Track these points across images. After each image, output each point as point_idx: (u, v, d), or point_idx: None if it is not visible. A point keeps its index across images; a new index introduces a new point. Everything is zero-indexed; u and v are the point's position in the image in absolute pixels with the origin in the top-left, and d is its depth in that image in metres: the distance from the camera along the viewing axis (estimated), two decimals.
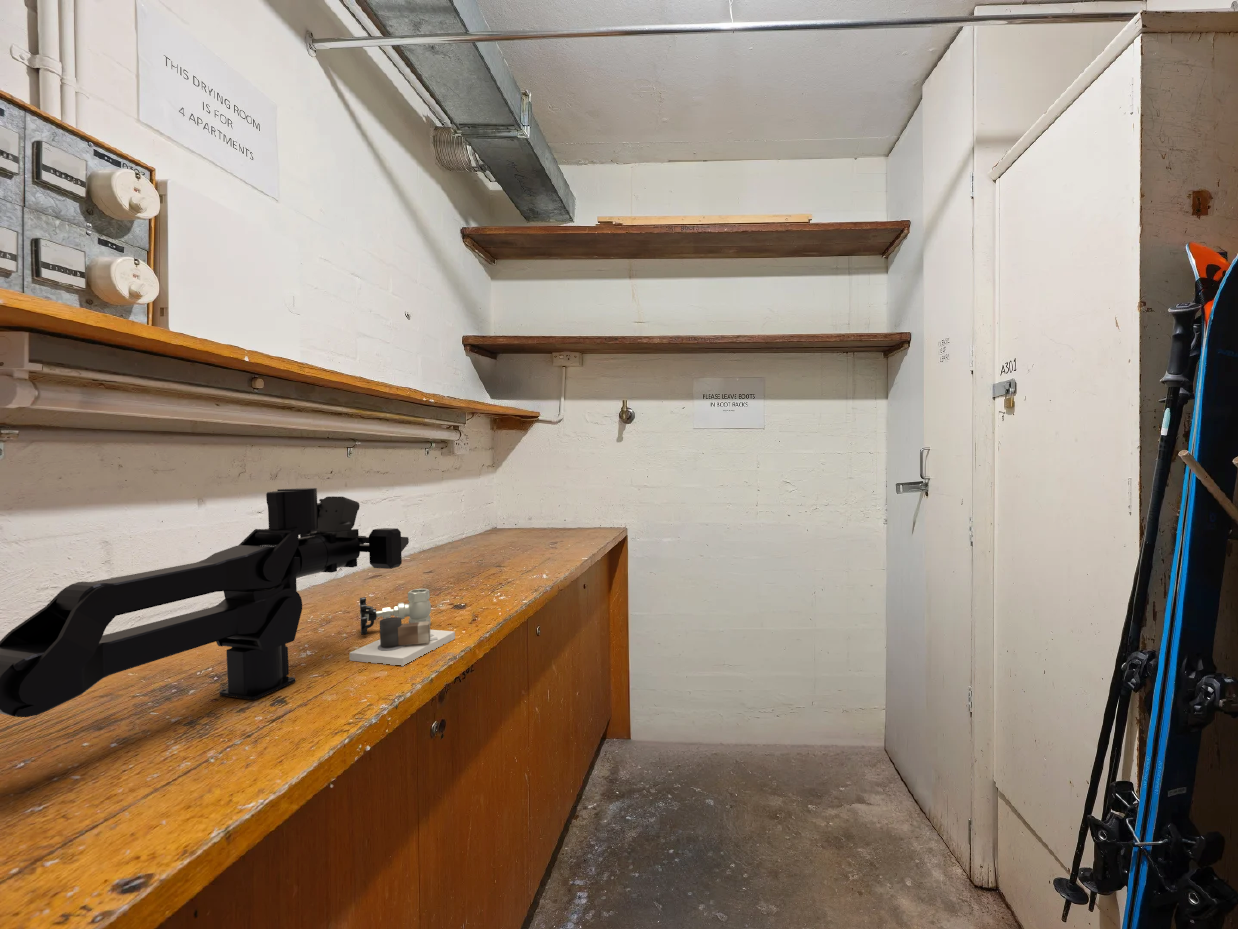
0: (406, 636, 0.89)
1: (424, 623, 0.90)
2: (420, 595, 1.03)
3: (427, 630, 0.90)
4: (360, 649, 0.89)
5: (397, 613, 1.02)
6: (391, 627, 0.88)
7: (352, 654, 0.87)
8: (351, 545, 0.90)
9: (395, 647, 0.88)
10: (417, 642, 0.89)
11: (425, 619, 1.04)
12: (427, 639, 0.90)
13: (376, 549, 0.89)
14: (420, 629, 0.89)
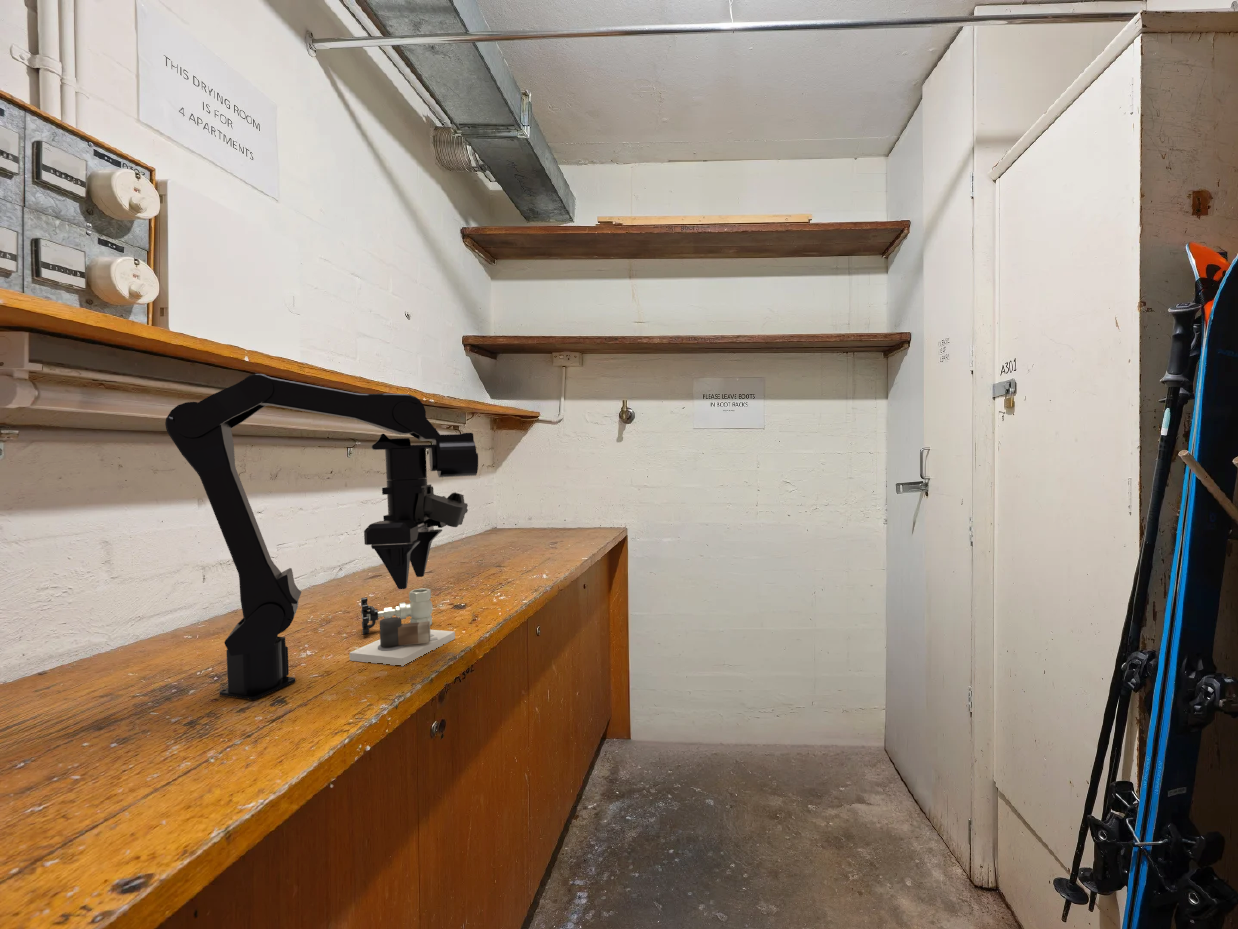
0: (406, 636, 0.89)
1: (424, 623, 0.90)
2: (421, 595, 1.03)
3: (427, 630, 0.90)
4: (360, 649, 0.89)
5: (399, 613, 1.02)
6: (391, 627, 0.88)
7: (352, 654, 0.87)
8: (406, 512, 0.82)
9: (395, 647, 0.88)
10: (417, 642, 0.89)
11: (427, 619, 1.04)
12: (427, 639, 0.90)
13: (392, 521, 0.78)
14: (420, 629, 0.89)
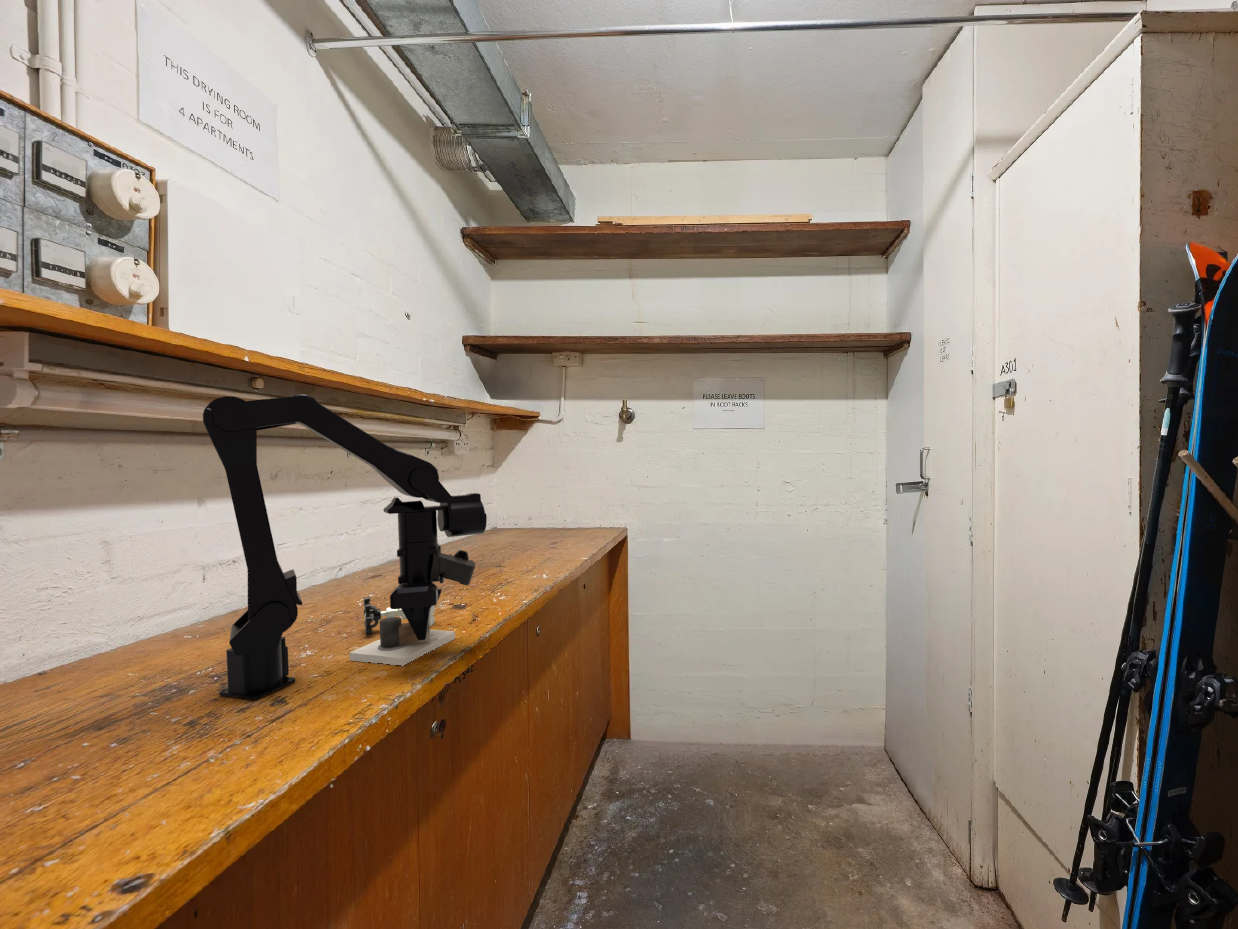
0: (407, 635, 0.89)
1: None
2: None
3: (428, 629, 0.90)
4: (360, 649, 0.89)
5: (401, 613, 1.02)
6: (392, 627, 0.88)
7: (352, 654, 0.87)
8: (422, 573, 0.86)
9: (395, 647, 0.88)
10: (418, 641, 0.90)
11: (429, 618, 1.04)
12: (428, 638, 0.90)
13: (415, 584, 0.82)
14: None
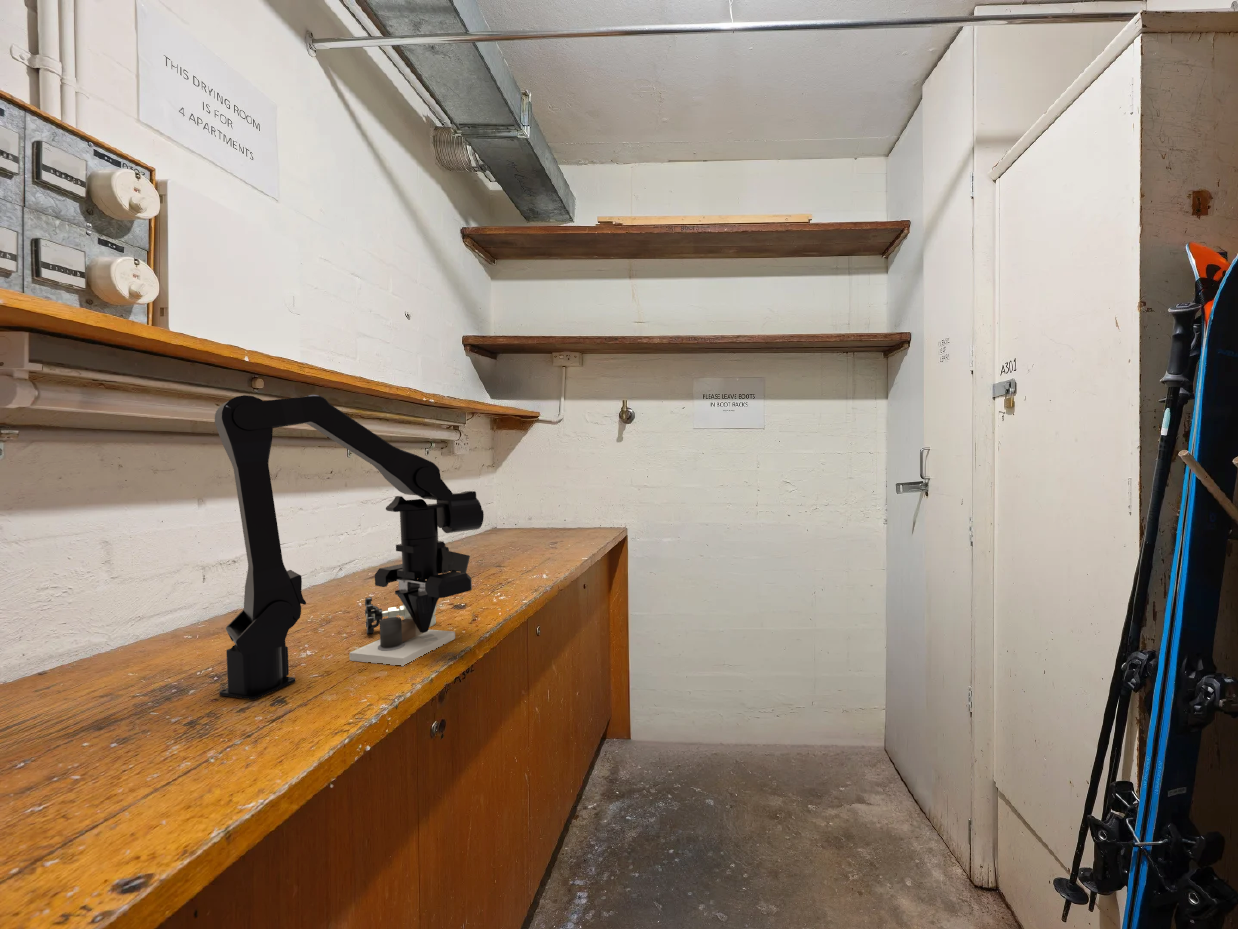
0: (407, 631, 0.91)
1: None
2: None
3: None
4: (360, 649, 0.89)
5: (403, 613, 1.02)
6: (399, 625, 0.89)
7: (352, 654, 0.87)
8: (434, 566, 0.91)
9: (395, 647, 0.88)
10: (415, 635, 0.93)
11: None
12: None
13: (447, 574, 0.88)
14: None
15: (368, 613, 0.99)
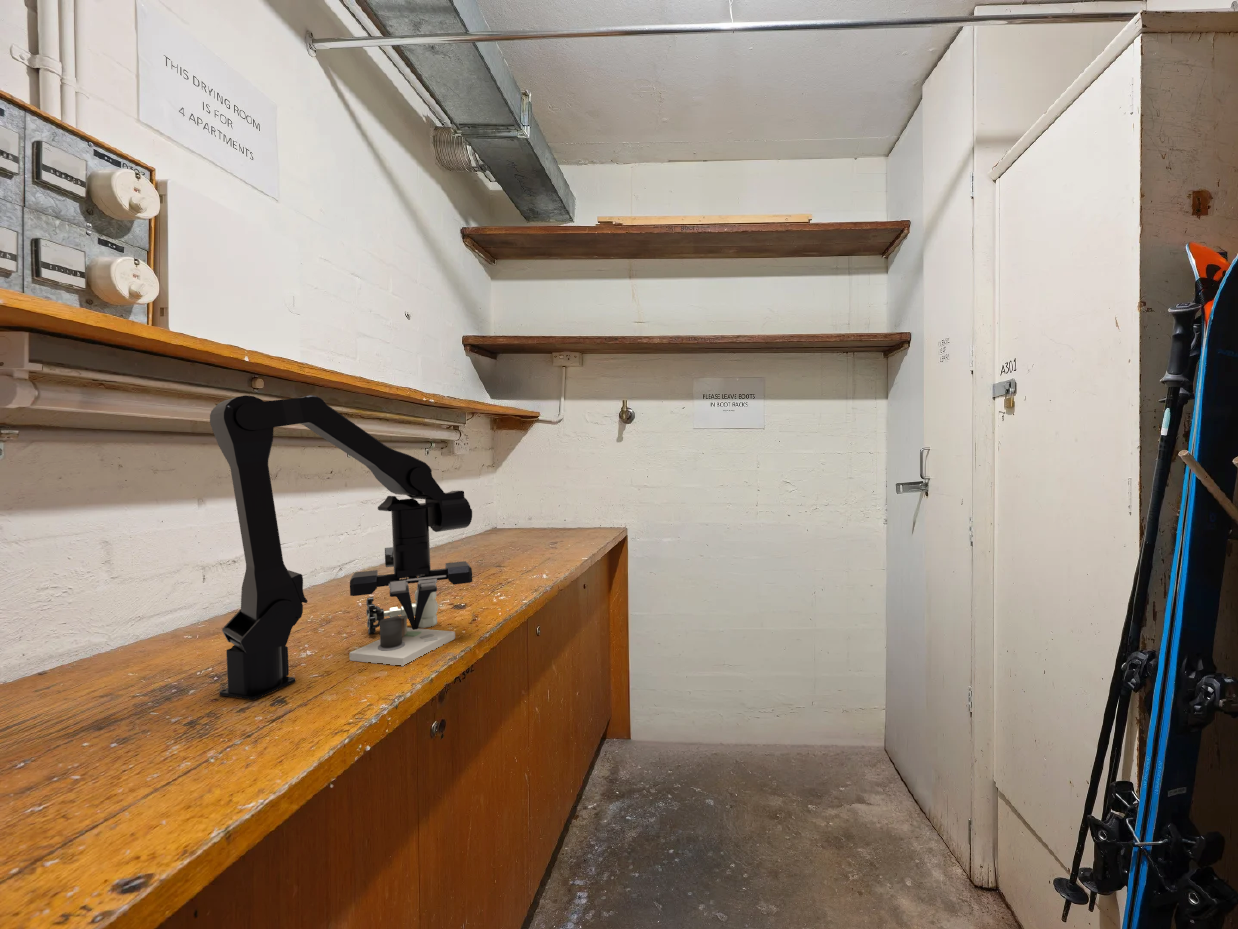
0: (401, 630, 0.92)
1: (399, 616, 0.95)
2: None
3: (406, 621, 0.95)
4: (360, 649, 0.89)
5: (404, 612, 1.02)
6: (401, 623, 0.90)
7: (352, 654, 0.87)
8: None
9: (395, 647, 0.88)
10: (404, 634, 0.94)
11: (432, 618, 1.04)
12: (406, 629, 0.95)
13: (455, 564, 0.97)
14: (404, 621, 0.94)
15: (370, 613, 0.99)
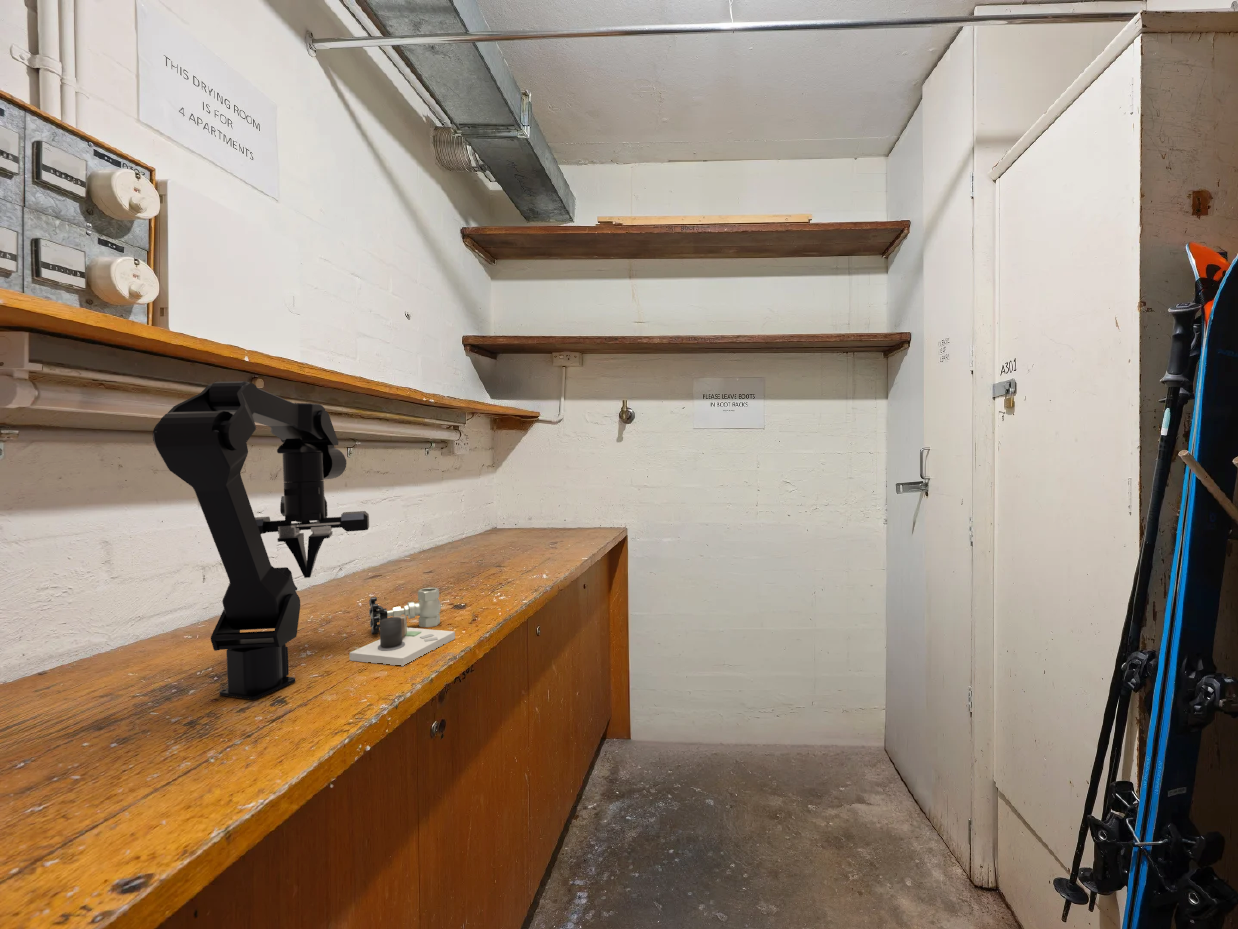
0: (401, 630, 0.92)
1: (399, 616, 0.95)
2: (430, 594, 1.04)
3: (406, 621, 0.95)
4: (360, 649, 0.89)
5: (408, 612, 1.02)
6: (401, 623, 0.90)
7: (352, 654, 0.87)
8: None
9: (395, 647, 0.88)
10: (404, 634, 0.94)
11: (435, 618, 1.04)
12: (406, 629, 0.95)
13: (351, 512, 0.94)
14: (404, 621, 0.94)
15: (373, 613, 0.99)
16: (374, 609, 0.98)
